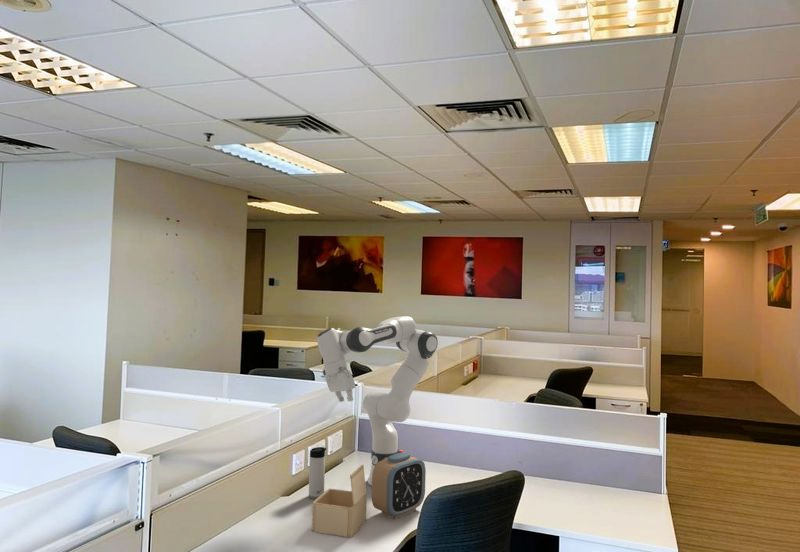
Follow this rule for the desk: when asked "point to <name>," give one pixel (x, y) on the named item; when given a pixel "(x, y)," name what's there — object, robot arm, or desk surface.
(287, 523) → the desk surface
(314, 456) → the travel mug
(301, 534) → the desk surface
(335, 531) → the carton
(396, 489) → the alarm clock
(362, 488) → the flap
